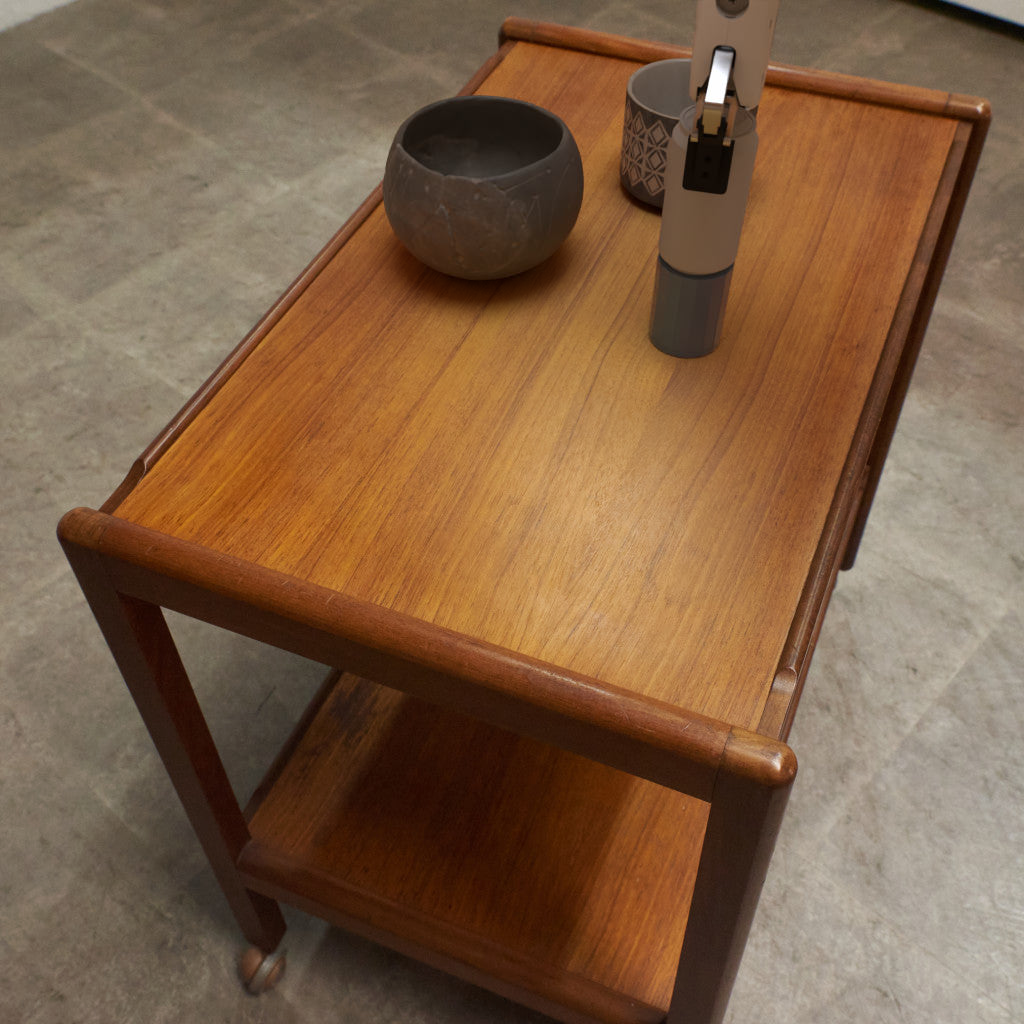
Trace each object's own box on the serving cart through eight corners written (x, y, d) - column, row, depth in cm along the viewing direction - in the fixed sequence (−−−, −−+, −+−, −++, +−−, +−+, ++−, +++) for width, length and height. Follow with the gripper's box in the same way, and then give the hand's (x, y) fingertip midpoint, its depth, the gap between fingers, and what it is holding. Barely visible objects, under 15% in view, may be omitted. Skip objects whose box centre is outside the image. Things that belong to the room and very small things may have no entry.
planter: (739, 157, 113) (757, 60, 105) (745, 224, 104) (764, 124, 96) (620, 151, 113) (628, 54, 106) (616, 217, 105) (625, 117, 97)
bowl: (358, 290, 97) (342, 163, 87) (434, 190, 108) (427, 68, 99) (543, 332, 93) (547, 203, 83) (602, 224, 104) (611, 100, 95)
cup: (724, 319, 94) (739, 242, 88) (715, 363, 90) (730, 285, 84) (655, 308, 95) (664, 231, 89) (643, 351, 91) (652, 273, 85)
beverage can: (642, 248, 88) (657, 109, 79) (707, 228, 90) (729, 90, 81) (685, 289, 84) (706, 148, 75) (752, 267, 86) (780, 127, 77)
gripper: (800, -35, 61) (750, 226, 74) (819, -131, 72) (773, 109, 85) (670, -47, 62) (643, 210, 75) (709, -140, 74) (680, 97, 86)
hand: (712, 156), depth 80 cm, fingers open, 9 cm apart
